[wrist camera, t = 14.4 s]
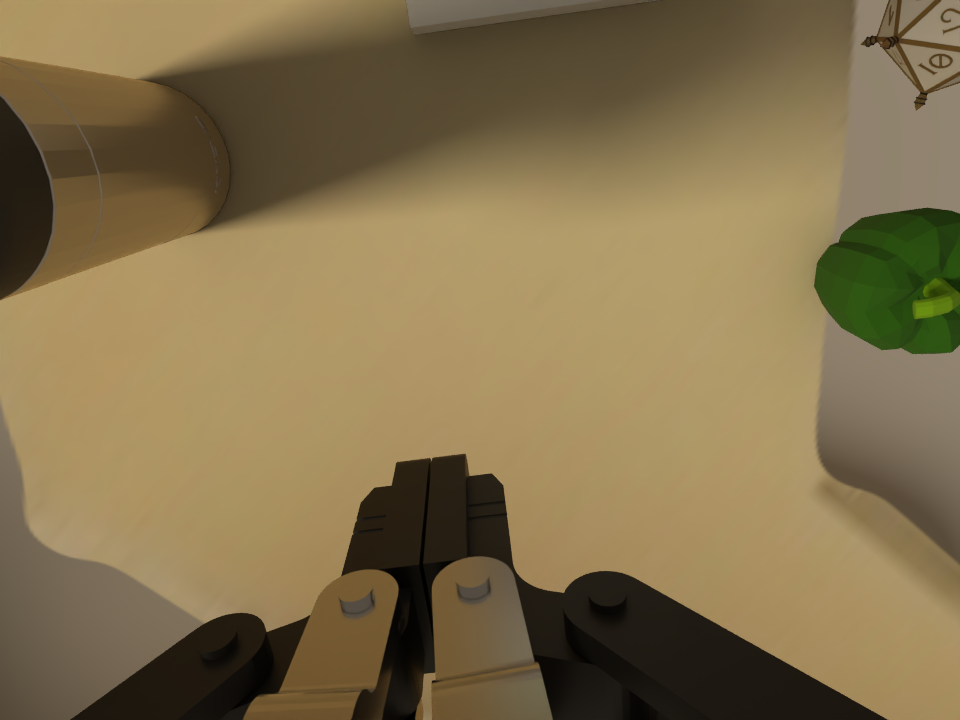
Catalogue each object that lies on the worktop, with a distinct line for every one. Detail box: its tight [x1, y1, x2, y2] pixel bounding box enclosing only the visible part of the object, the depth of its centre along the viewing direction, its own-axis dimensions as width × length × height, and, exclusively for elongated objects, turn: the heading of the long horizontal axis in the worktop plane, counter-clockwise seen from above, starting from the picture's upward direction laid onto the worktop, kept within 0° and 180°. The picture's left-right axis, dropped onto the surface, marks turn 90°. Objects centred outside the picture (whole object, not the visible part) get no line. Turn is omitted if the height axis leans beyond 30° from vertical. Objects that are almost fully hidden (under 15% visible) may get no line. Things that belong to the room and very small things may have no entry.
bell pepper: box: [814, 208, 960, 354], centre depth 36 cm, size 8×8×10 cm
